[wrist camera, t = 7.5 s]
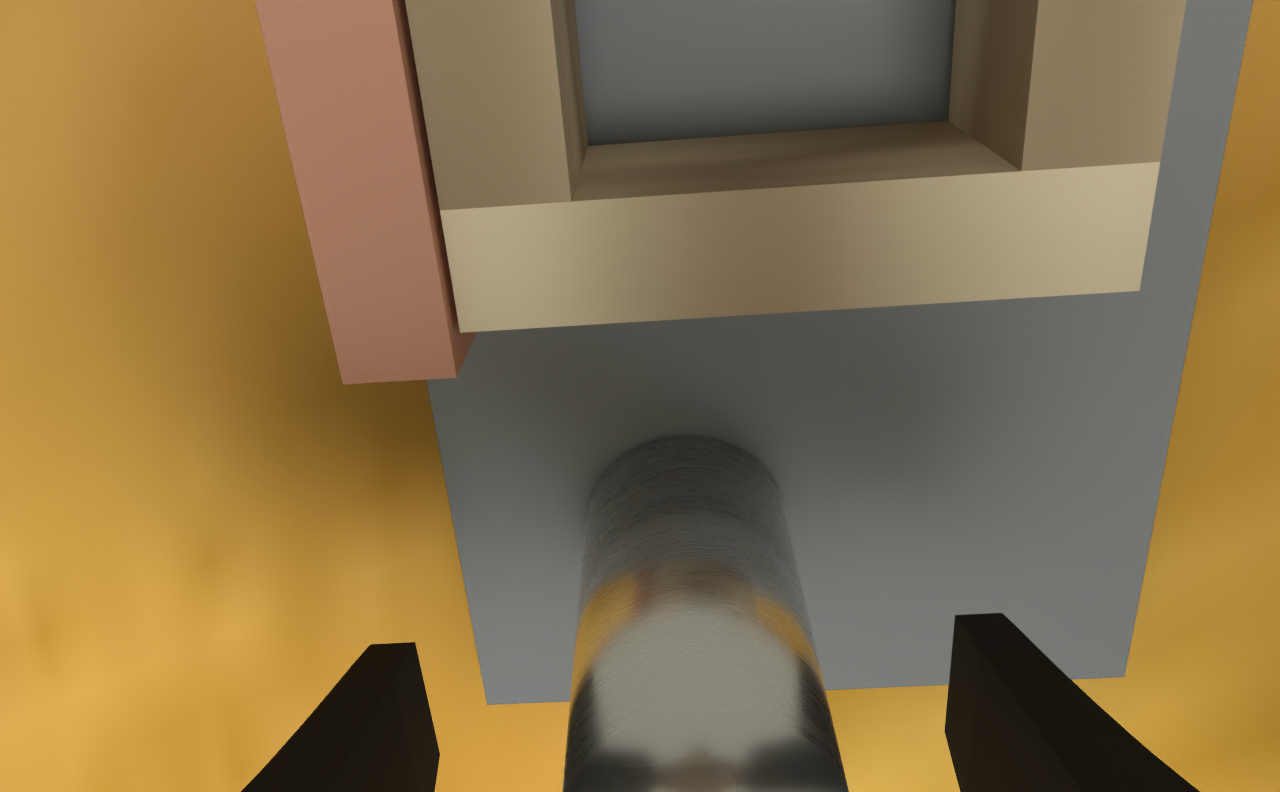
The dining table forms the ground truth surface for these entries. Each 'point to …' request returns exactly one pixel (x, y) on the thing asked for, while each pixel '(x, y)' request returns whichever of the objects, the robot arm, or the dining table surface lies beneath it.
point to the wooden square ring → (796, 176)
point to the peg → (694, 634)
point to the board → (770, 344)
